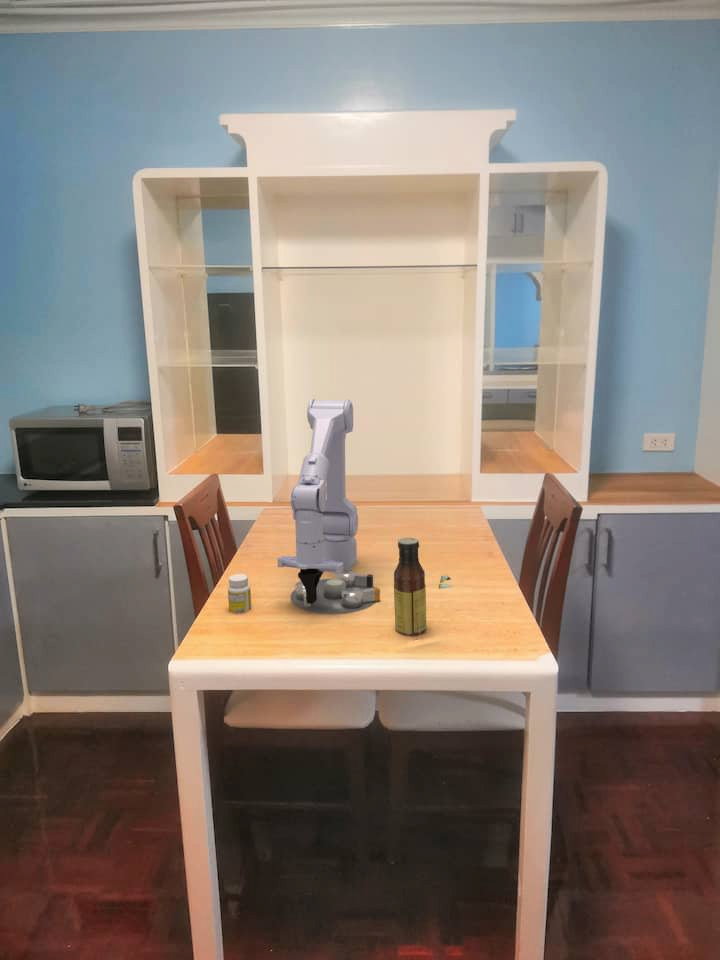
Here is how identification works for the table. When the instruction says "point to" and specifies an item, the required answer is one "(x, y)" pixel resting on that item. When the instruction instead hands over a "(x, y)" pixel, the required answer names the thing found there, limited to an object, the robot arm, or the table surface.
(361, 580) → the knob black
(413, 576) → the sauce bottle
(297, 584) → the silver metal rounded piece
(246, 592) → the supplement bottle
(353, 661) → the table surface
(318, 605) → the tribrach plate
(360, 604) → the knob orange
